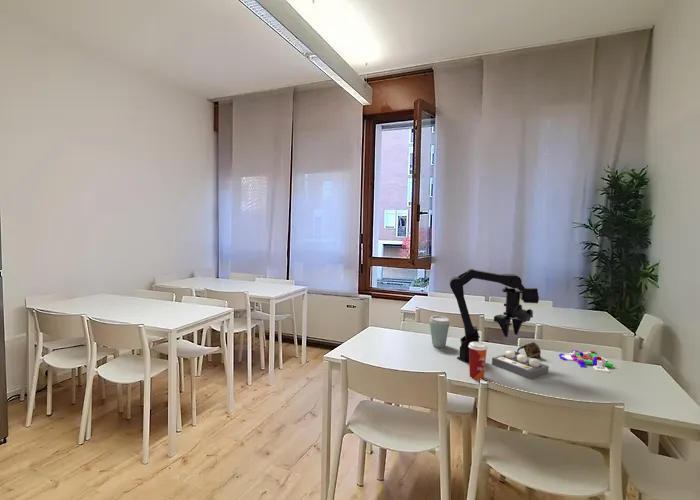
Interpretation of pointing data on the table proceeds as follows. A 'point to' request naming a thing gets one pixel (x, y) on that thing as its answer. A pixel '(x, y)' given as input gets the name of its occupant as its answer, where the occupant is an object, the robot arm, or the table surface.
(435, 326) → the disposable coffee cup
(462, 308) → the robot arm
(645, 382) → the table surface
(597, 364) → the building block set
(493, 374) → the table surface
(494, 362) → the button panel
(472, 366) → the paper cup
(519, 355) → the button middle
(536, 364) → the button
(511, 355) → the button
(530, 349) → the brown mug
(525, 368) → the pattern card
